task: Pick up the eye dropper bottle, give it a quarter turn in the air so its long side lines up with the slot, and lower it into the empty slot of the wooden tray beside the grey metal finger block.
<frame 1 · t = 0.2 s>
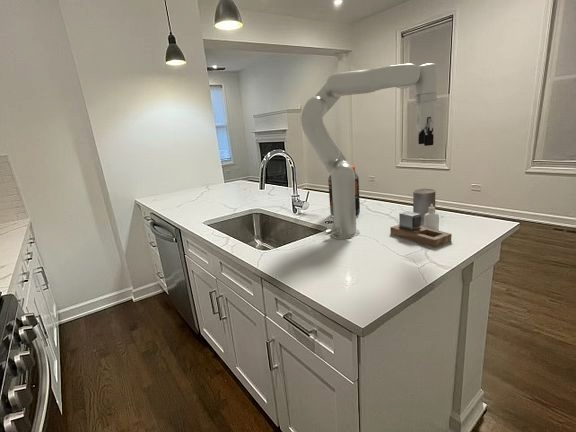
hand: (425, 144, 126), 36 cm above the worktop, tool pointing down, fingers open, 9 cm apart
wooden tray: (419, 239, 126), on the worktop
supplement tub: (345, 215, 170), on the worktop
eye dropper bottle: (431, 232, 133), on the worktop
finger block: (409, 234, 130), resting on wooden tray
pillar candle: (423, 219, 151), on the worktop
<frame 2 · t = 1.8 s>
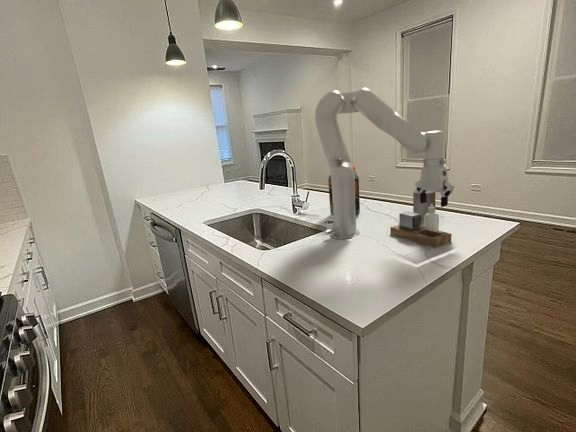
hand: (433, 204, 130), 12 cm above the worktop, tool pointing down, fingers open, 9 cm apart
nothing on the worktop moved.
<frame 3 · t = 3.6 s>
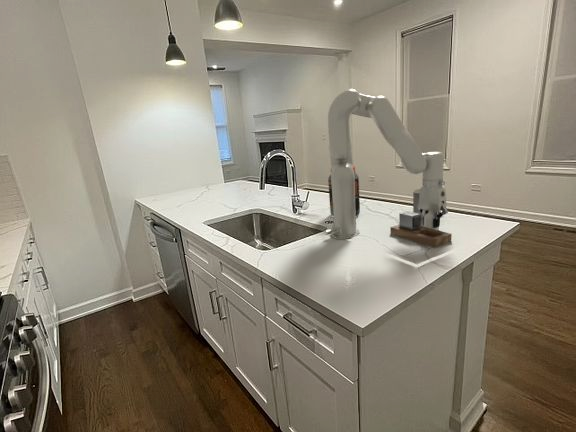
hand: (431, 225, 133), 3 cm above the worktop, tool pointing down, fingers closed on eye dropper bottle, 4 cm apart
eye dropper bottle: (431, 232, 133), on the worktop, touching gripper
everything else where it was.
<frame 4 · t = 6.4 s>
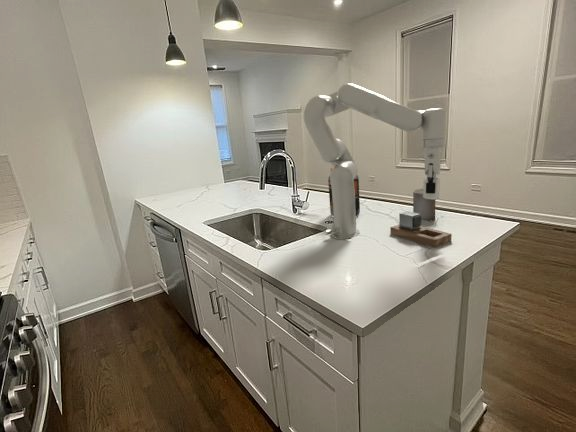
hand: (431, 191, 122), 19 cm above the worktop, tool pointing down, fingers closed on eye dropper bottle, 4 cm apart
eye dropper bottle: (430, 198, 123), point 16 cm above the worktop, touching gripper
everything else where it was.
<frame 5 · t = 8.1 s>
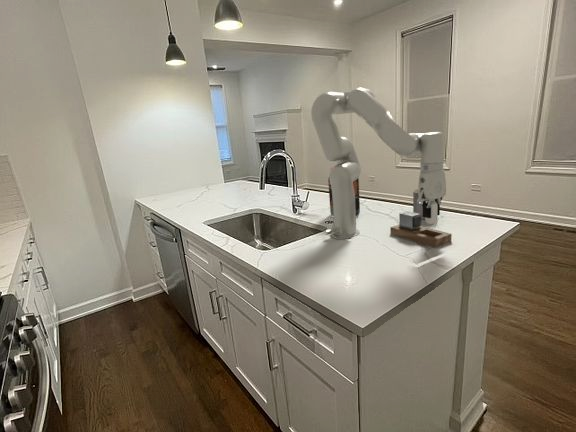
hand: (431, 215, 119), 11 cm above the worktop, tool pointing down, fingers closed on eye dropper bottle, 4 cm apart
eye dropper bottle: (431, 223, 119), point 8 cm above the worktop, touching gripper
everything else where it was.
when the fingers open (5 cm above the worktop, at t = 9.5 s): eye dropper bottle drops 1 cm, resting on wooden tray.
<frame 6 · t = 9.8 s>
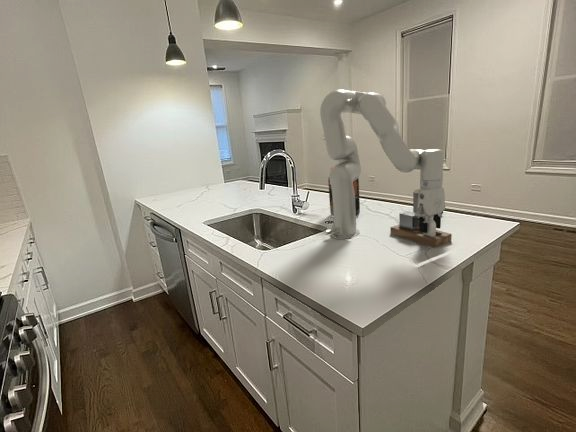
hand: (429, 229, 120), 5 cm above the worktop, tool pointing down, fingers open, 6 cm apart
eye dropper bottle: (429, 241, 122), point 1 cm above the worktop, touching wooden tray
everything else where it was.
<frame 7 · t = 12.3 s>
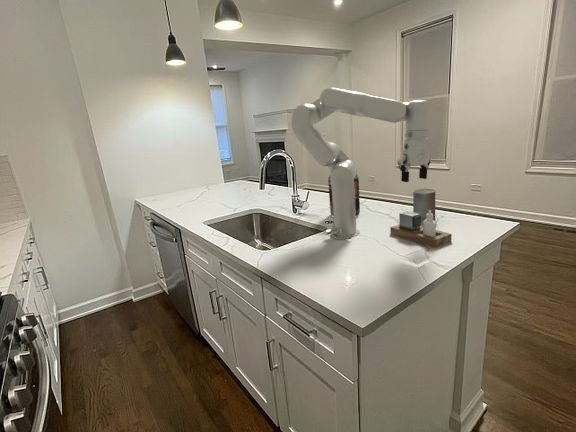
hand: (414, 180, 124), 23 cm above the worktop, tool pointing down, fingers open, 9 cm apart
nothing on the worktop moved.
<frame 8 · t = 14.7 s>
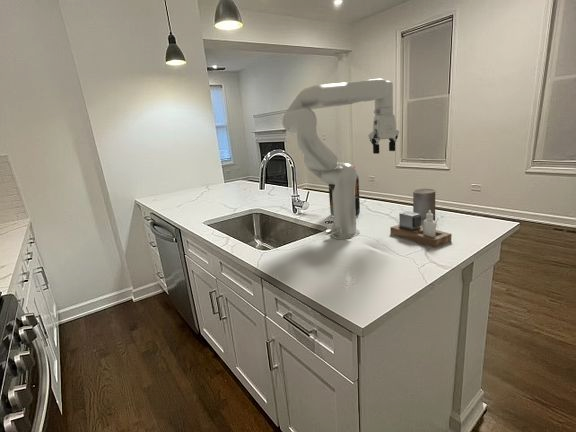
hand: (384, 152, 142), 33 cm above the worktop, tool pointing down, fingers open, 9 cm apart
nothing on the worktop moved.
at the end: eye dropper bottle 0.2 cm from the target spot on the wooden tray, point 0.8 cm above the wooden tray's base; eye dropper bottle tilted 0°; the gripper is holding nothing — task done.
